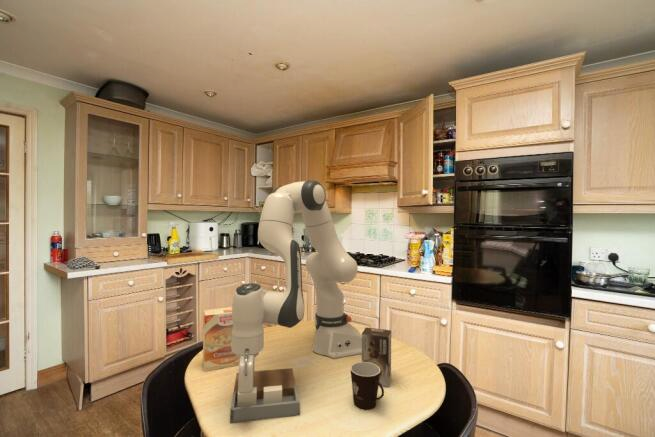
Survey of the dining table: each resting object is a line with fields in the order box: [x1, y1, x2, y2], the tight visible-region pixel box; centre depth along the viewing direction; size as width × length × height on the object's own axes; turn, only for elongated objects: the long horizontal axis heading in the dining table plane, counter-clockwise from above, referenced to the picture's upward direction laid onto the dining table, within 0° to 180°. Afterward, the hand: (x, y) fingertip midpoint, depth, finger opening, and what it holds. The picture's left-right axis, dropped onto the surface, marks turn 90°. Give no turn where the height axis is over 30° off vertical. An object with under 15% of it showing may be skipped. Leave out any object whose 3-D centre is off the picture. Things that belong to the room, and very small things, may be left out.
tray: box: [229, 385, 301, 424], centre depth 87 cm, size 18×8×4 cm, turn 102°
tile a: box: [264, 385, 282, 404], centre depth 88 cm, size 5×5×2 cm
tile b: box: [237, 387, 257, 407], centre depth 87 cm, size 5×5×2 cm
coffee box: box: [360, 327, 392, 388], centre depth 104 cm, size 9×6×16 cm
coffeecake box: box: [202, 306, 240, 372], centre depth 114 cm, size 15×7×20 cm, turn 115°
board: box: [233, 367, 297, 401], centre depth 97 cm, size 18×12×3 cm, turn 102°
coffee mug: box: [349, 361, 385, 411], centre depth 89 cm, size 12×9×10 cm
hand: (247, 391), depth 89 cm, fingers closed
